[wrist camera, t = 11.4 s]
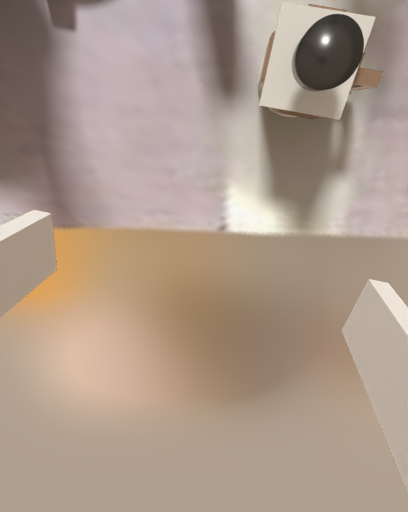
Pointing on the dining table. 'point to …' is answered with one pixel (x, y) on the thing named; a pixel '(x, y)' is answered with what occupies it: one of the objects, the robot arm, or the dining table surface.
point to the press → (280, 67)
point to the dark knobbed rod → (328, 53)
